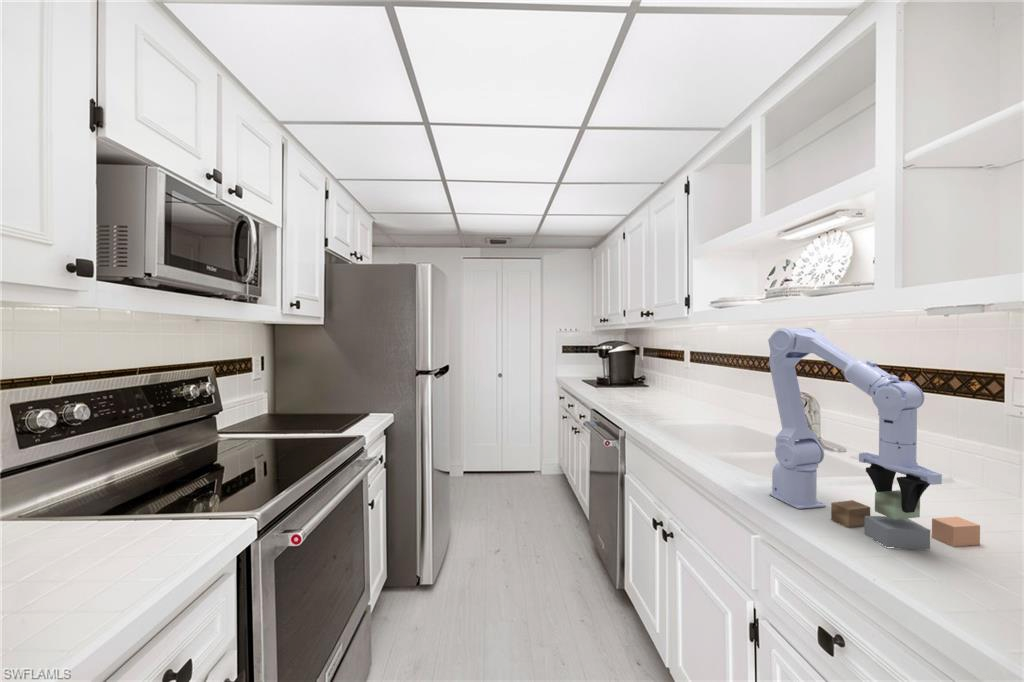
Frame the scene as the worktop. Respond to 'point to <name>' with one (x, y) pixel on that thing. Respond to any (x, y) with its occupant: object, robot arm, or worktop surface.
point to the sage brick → (893, 505)
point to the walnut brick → (849, 513)
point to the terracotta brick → (955, 531)
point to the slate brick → (897, 532)
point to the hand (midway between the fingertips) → (896, 507)
